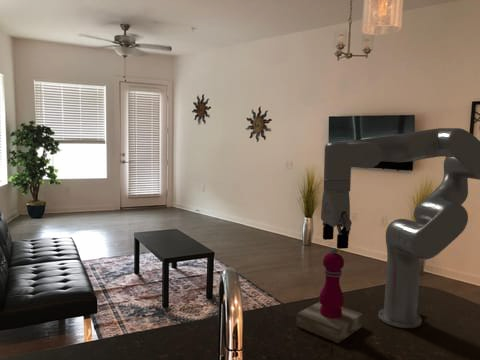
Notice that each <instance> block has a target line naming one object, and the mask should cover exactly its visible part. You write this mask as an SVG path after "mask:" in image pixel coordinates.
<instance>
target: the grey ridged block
mask: <svg viewBox="0 0 480 360" xmlns="http://www.w3.org/2000/svg"><path fill="white" fill-rule="evenodd" d="M321 306H322V305H321V303H320V302H319V301H318V302H316V303H314V304H312V305H310V306H308V307H306V308H305V309H302V310H300V311H298V312H297V313H296V325H295V326H296V327H297V328H300V329H303V330H305V331H307V332H310V333H313V334H314V335H317V336H320V337H322V338H324V339H327V340H329V341H332V342H334V343H337V344H339V343H341V342H342V341H344V340H345V339H346V338H348V337H349V336H352V334H354V333H355V332H357V331H358V330H359V329H361V328H363V320H364V319H363V318H364V317H363V315H364V314H363V313H361V312H358V311H356V310H354V309H353V310H352V309H350V308H346V307H344V306H341V307H340V308H341V309H342V315H341V317H339V318H327V317H324V316H323V315H321V313H320V307H321Z"/></svg>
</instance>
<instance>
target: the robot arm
mask: <svg viewBox="0 0 480 360" xmlns="http://www.w3.org/2000/svg"><path fill="white" fill-rule="evenodd" d="M438 157H439V158H440V157H443V158H444V157H445V159H444V160H443V176H442V177H443V178H442V181H441V183H440V184H439V185H438V186H437V187H436V188H435V189H434V190H433V191H432V192H431V193H429V194H428V196H426V198H424V199H423V200H422V201H420V202H419V203H418V204H417V206H416V207H415V209H414V211H413V218H414V219H415V220H414V221H413V220H410V219H405V218H398V219H394V220H393V221H391V222H390V223H389V225H388V226H387V228H386V230H385V244H386V253H387V255H386V257H387V258H386V259H387V260H386V274H385V288H384V289H385V290H384V300H383V301H384V304H383V308H381V309H380V310H378V315H377V316H378V319H379V320H381V322H383V323H385V324H387V325H389V326H392V327H396V328H401V329H414V328H415V329H416V328H418V327H420V326H421V325H422V322H423V320H422V317H421V316H420V315H419V314H418V313H417V312H418V306H419V300H418V299H419V287H420V274H421V261H420V260H430V259H433V258H435V257H436V256H439V254H440V253H441V252H442V251H444V250H445V249H446V248H447V247H448V246H449V245H451V243H452V242H453V241H455V240H456V239H457V238H458V237H459V236H460V235H461V234H462V233H463V232H464V230H465V229H466V228H467V226H468V222H469V215H468V214H469V213H468V211H467V209H466V208H465V206H463V204H464V203H465V202H466V201H467V198H468V195H469V179H472V180H479V181H480V140H479V139H478V137H476V136H474V135H473V134H472V133H471V132H469V131H468V130H465V129H464V128H460V127H459V128H458V127H456V128H453V127H452V128H451V127H447V128H446V127H444V128H443V127H442V128H441V127H439V128H432V129H430V128H429V129H425V130H419V131H411V132H404V133H403V132H402V133H397V134H391V135H390V134H389V135H385V136H377V137H369V138H363V139H356V140H349V141H347V142H343V141H342V142H341V141H340V142H338V141H337V142H334V141H333V142H332V141H331V142H328V143H326V144H325V146H324V161H323V162H324V163H323V170H324V171H323V193H322V197H321V198H322V199H321V211H320V219H321V221H322V239H323V240H324V241H326V240H331V241H332V240H333V239H334V234H335V233H334V232H335V231H334V229H335V228H336V229H337V232H338V234H336V235H337V236H336V249H337V250H343V249H348V248H349V240H350V239H349V236H350V235H351V233H350V232H351V228H352V220H351V218H350V217H351V200H350V192H351V186H352V185H351V183H352V182H351V181H352V179H351V178H352V168H360V169H371V168H374V167H376V166H378V165H379V163H380V162H392V163H406V162H407V163H408V162H414V161H418V160H419V161H420V160H425V159H431V158H438Z"/></svg>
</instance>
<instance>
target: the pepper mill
mask: <svg viewBox="0 0 480 360" xmlns="http://www.w3.org/2000/svg"><path fill="white" fill-rule="evenodd" d="M322 264H323V266H324V269H323V271H324V272H323V273H324V275H325V281H324V285H323V288H322V289H321V291H320V293H319V296H318V302H320V303H321V305H322V306H321V307H320V313H321V315H323V316H324V317H327V318H339V317H341V315H342V309H341V308H340V307H343V306H344V304H345V296H344V293H343V291H342V288H341V285H340V280H341V279H340V278H341V276H342V272H343V271H342V269H343V268H344V265H345V259H344V257H343V256H342V255H341V254H339V253H338V248H335V247H333V248H331V249H330V252H329V253H327V254H325V255H324V257H323V259H322Z"/></svg>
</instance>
